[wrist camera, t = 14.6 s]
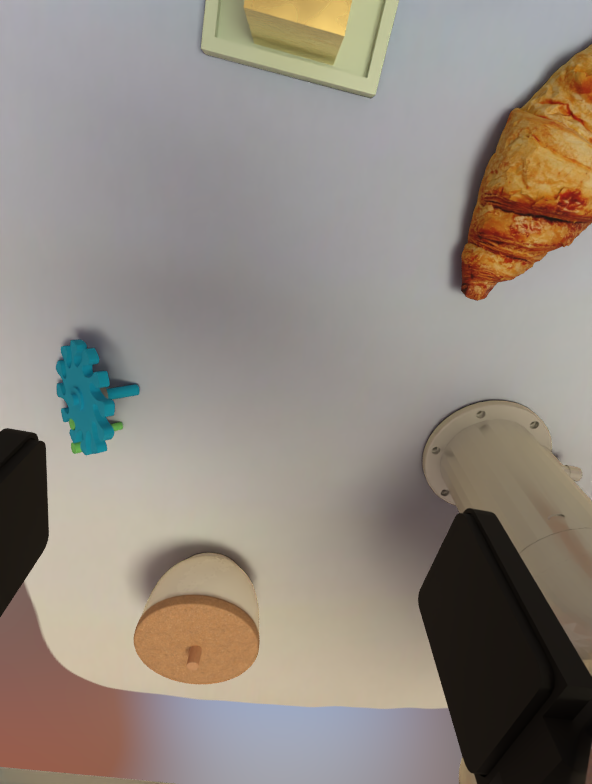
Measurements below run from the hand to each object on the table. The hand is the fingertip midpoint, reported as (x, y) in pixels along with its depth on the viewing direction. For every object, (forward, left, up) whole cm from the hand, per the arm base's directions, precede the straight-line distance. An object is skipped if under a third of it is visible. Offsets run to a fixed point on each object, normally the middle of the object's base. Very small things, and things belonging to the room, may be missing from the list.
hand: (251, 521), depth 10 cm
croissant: (-18, -11, -31) cm, 38 cm away
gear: (+15, +14, -31) cm, 37 cm away
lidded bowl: (+1, +37, -31) cm, 48 cm away
